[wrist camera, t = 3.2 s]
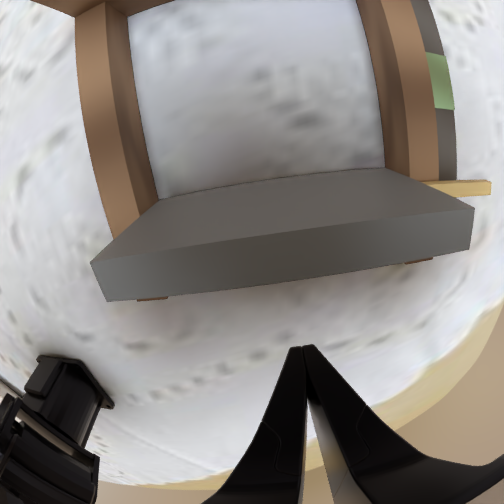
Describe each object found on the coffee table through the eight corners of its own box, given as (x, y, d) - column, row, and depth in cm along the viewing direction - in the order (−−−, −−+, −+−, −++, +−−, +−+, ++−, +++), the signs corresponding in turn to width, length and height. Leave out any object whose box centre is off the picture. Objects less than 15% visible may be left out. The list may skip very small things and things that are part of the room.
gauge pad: (461, 188, 11) (543, 231, 5) (166, 224, 12) (107, 301, 7) (462, 165, 10) (548, 200, 5) (160, 199, 11) (90, 262, 6)
